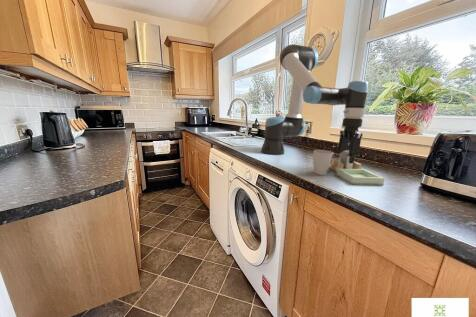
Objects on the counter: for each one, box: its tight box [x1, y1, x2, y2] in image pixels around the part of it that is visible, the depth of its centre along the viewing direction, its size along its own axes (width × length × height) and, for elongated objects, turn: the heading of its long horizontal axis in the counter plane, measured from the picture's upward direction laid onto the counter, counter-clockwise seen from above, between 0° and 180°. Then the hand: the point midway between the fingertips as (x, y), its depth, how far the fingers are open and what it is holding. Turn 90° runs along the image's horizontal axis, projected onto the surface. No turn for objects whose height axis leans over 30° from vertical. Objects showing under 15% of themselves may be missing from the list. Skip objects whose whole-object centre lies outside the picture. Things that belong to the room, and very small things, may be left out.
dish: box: [336, 168, 386, 186], centre depth 80 cm, size 12×12×3 cm
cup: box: [312, 149, 335, 176], centre depth 86 cm, size 8×8×10 cm
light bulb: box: [339, 149, 349, 169], centre depth 92 cm, size 5×6×10 cm
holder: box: [330, 158, 362, 173], centre depth 92 cm, size 9×9×4 cm
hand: (344, 167), depth 92 cm, fingers closed on light bulb, 5 cm apart
